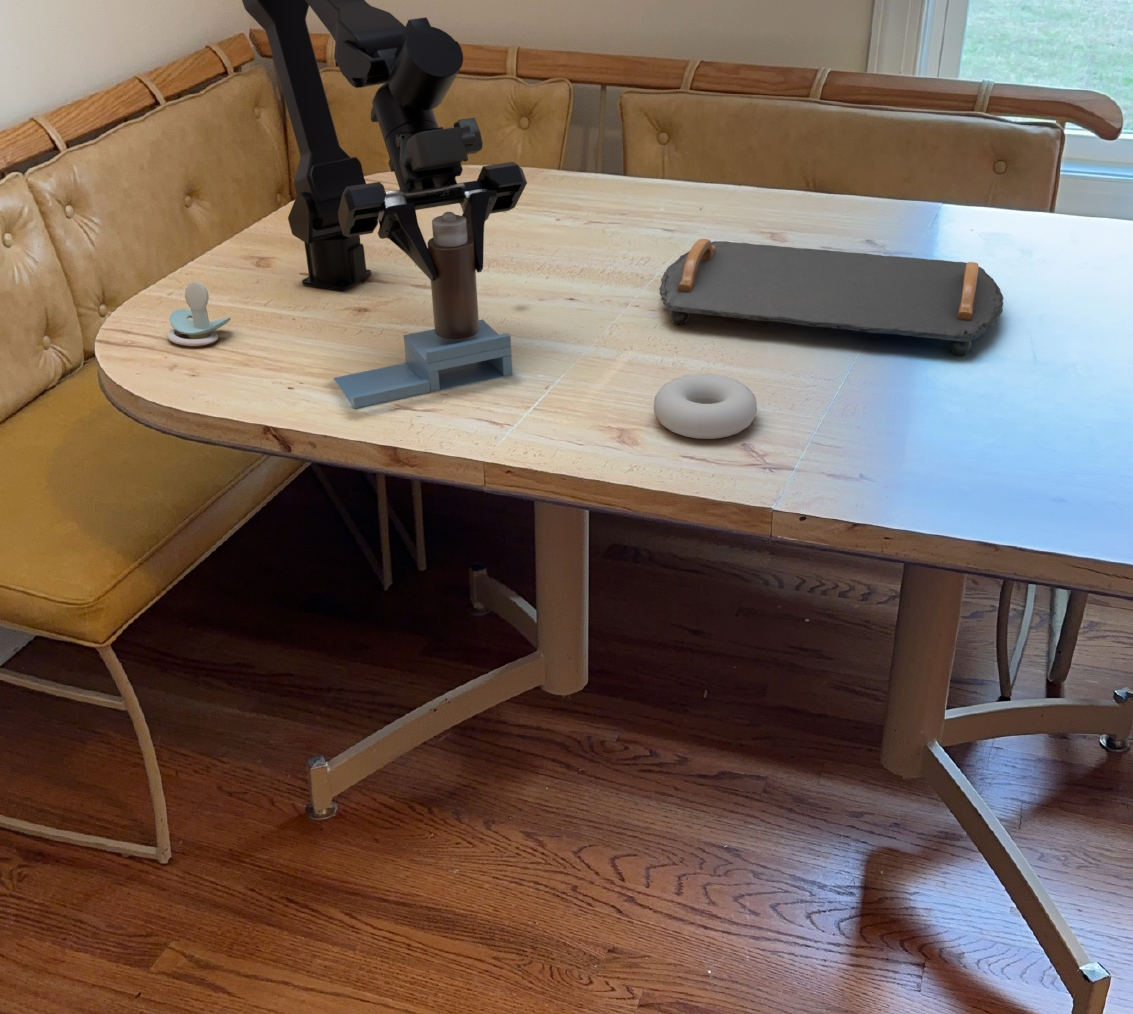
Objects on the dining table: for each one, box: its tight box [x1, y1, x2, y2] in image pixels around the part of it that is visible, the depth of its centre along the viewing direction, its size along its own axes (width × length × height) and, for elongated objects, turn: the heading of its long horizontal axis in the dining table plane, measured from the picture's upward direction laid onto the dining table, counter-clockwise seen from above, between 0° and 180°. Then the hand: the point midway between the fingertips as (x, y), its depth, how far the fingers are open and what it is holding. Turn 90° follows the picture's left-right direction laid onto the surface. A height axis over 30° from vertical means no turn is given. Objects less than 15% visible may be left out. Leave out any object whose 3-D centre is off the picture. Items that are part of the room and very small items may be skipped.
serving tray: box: [659, 238, 1004, 357], centre depth 139 cm, size 39×23×6 cm, turn 72°
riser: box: [333, 319, 513, 410], centre depth 125 cm, size 8×17×5 cm, turn 115°
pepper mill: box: [427, 211, 480, 340], centre depth 122 cm, size 5×5×13 cm
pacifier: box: [166, 281, 232, 347], centre depth 136 cm, size 7×6×6 cm
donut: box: [653, 373, 758, 440], centre depth 117 cm, size 10×4×10 cm
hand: (457, 274), depth 121 cm, fingers closed on pepper mill, 4 cm apart
